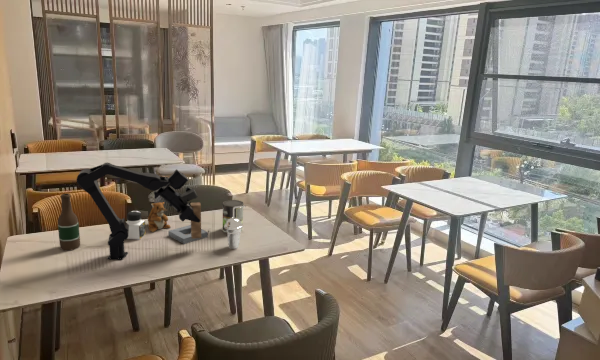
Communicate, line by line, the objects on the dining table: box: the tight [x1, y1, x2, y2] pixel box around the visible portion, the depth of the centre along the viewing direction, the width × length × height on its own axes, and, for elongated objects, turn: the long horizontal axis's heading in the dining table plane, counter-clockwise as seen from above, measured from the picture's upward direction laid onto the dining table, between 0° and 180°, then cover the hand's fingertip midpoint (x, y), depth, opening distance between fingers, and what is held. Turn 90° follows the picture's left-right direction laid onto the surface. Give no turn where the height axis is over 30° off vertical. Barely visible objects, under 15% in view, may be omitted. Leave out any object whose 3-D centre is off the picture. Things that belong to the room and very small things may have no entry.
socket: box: [168, 224, 209, 245], centre depth 201 cm, size 13×13×2 cm
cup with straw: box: [224, 205, 246, 250], centre depth 189 cm, size 8×9×20 cm
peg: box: [189, 201, 202, 239], centre depth 184 cm, size 4×4×15 cm
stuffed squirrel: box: [147, 201, 171, 233], centre depth 210 cm, size 10×14×13 cm
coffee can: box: [221, 199, 245, 234], centre depth 210 cm, size 10×10×14 cm
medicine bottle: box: [126, 210, 146, 241], centre depth 197 cm, size 7×7×12 cm
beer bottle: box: [57, 193, 81, 251], centre depth 181 cm, size 8×8×24 cm
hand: (199, 220), depth 185 cm, fingers closed on peg, 4 cm apart
